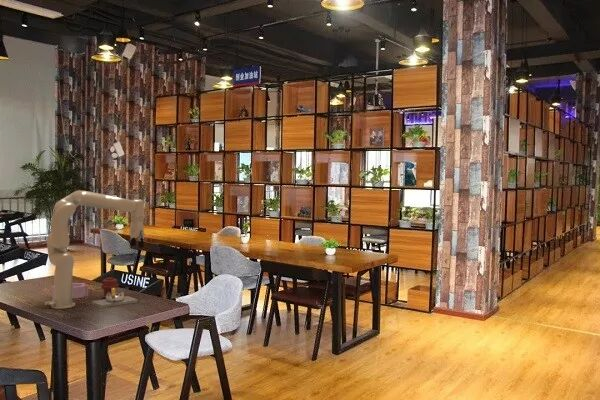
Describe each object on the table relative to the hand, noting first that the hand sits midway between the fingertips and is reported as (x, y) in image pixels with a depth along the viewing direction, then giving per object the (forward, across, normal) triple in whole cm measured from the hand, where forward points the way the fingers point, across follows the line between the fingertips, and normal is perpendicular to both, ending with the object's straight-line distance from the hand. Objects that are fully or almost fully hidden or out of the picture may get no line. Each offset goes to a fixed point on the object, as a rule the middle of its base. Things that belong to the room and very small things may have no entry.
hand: (137, 246), depth 333 cm
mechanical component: (+31, -5, -15) cm, 35 cm away
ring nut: (+29, +11, -19) cm, 37 cm away
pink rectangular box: (+31, -24, -32) cm, 51 cm away
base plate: (+31, +9, -19) cm, 37 cm away
